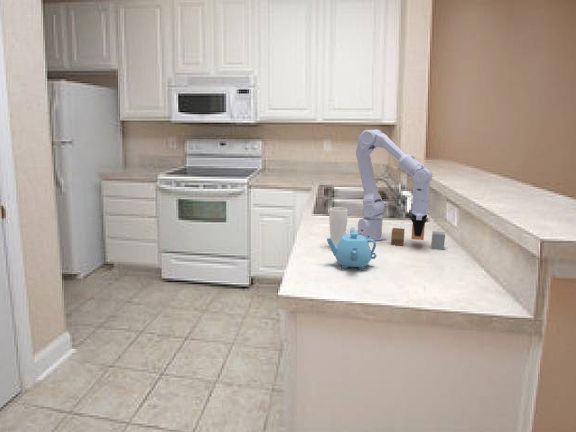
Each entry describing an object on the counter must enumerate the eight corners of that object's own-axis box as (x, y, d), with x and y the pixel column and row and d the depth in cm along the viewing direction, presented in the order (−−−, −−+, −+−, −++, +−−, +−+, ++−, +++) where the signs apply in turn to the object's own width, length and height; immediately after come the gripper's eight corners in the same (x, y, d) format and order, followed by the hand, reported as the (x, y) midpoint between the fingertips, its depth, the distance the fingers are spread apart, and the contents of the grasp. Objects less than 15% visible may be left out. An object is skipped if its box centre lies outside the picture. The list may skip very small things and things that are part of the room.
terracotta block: (423, 240, 166) (424, 224, 165) (411, 238, 167) (412, 223, 166) (423, 237, 170) (424, 222, 169) (411, 236, 172) (412, 221, 170)
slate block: (443, 250, 165) (445, 234, 163) (431, 249, 166) (432, 233, 165) (443, 247, 169) (444, 232, 168) (431, 245, 170) (432, 231, 169)
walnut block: (402, 246, 169) (403, 231, 168) (391, 245, 170) (391, 230, 169) (403, 243, 173) (404, 228, 172) (391, 242, 175) (392, 227, 173)
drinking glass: (325, 245, 169) (326, 207, 165) (340, 243, 171) (341, 206, 168) (333, 250, 163) (335, 211, 159) (349, 248, 165) (351, 209, 162)
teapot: (321, 263, 148) (322, 231, 146) (350, 256, 156) (352, 225, 154) (353, 276, 136) (354, 241, 134) (383, 268, 144) (385, 235, 142)
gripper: (431, 204, 158) (428, 240, 161) (431, 197, 171) (428, 230, 174) (411, 202, 160) (408, 238, 163) (413, 196, 173) (410, 229, 176)
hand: (417, 234), depth 169 cm, fingers closed on terracotta block, 4 cm apart
